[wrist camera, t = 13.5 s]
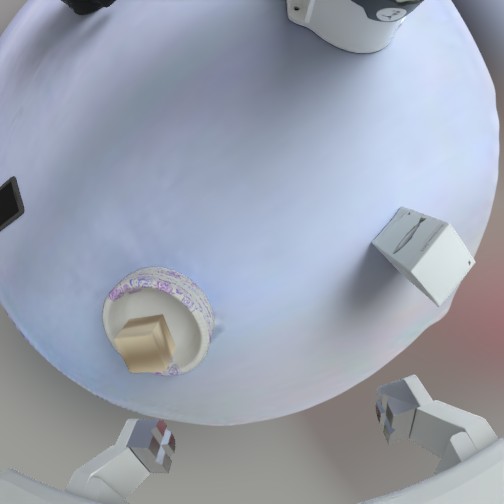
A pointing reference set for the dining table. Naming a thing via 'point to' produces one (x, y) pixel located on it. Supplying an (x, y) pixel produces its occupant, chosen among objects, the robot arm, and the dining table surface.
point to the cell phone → (10, 202)
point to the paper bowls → (170, 305)
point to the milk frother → (87, 5)
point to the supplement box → (425, 253)
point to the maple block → (146, 344)
